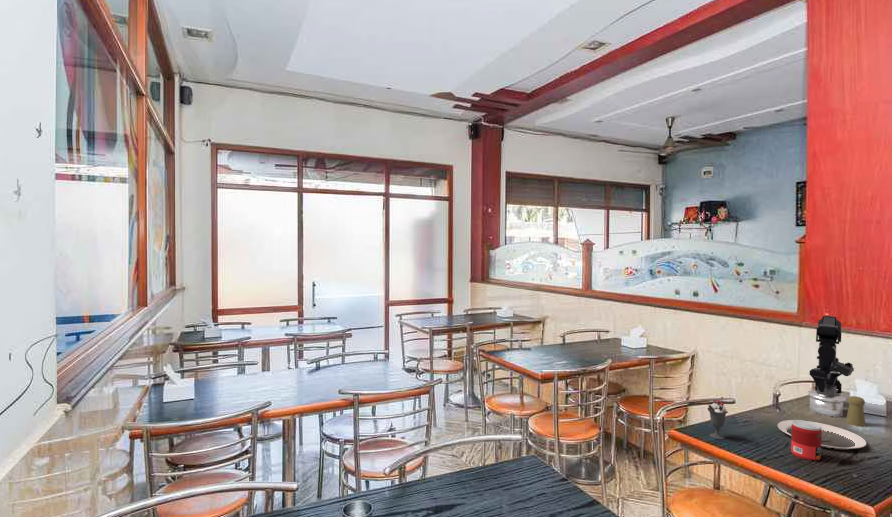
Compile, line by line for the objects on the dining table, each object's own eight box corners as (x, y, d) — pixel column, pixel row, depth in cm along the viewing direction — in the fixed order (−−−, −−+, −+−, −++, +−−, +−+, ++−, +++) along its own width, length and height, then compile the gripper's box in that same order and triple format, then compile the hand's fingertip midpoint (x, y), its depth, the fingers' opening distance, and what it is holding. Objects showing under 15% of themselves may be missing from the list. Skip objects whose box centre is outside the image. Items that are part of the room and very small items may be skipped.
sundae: (729, 436, 170) (730, 397, 170) (725, 442, 165) (726, 401, 165) (709, 431, 174) (710, 393, 174) (704, 436, 169) (705, 397, 169)
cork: (870, 426, 181) (870, 399, 180) (854, 426, 181) (855, 399, 180) (856, 421, 187) (857, 394, 186) (841, 420, 187) (842, 394, 186)
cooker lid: (815, 391, 205) (815, 379, 205) (850, 399, 194) (851, 386, 194) (802, 395, 198) (802, 383, 198) (838, 404, 188) (839, 390, 188)
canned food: (822, 463, 149) (823, 430, 149) (792, 457, 153) (793, 425, 153) (818, 454, 155) (819, 422, 155) (789, 449, 160) (790, 418, 159)
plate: (773, 438, 169) (773, 433, 169) (782, 420, 188) (782, 415, 188) (866, 460, 152) (866, 454, 152) (866, 437, 170) (866, 432, 170)
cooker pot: (815, 406, 204) (816, 391, 204) (846, 414, 195) (847, 398, 194) (805, 410, 198) (805, 395, 198) (836, 418, 189) (837, 403, 189)
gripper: (842, 361, 184) (841, 399, 185) (859, 356, 194) (858, 392, 194) (809, 355, 194) (808, 392, 194) (827, 351, 203) (826, 385, 204)
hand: (826, 390), depth 196 cm, fingers open, 9 cm apart
